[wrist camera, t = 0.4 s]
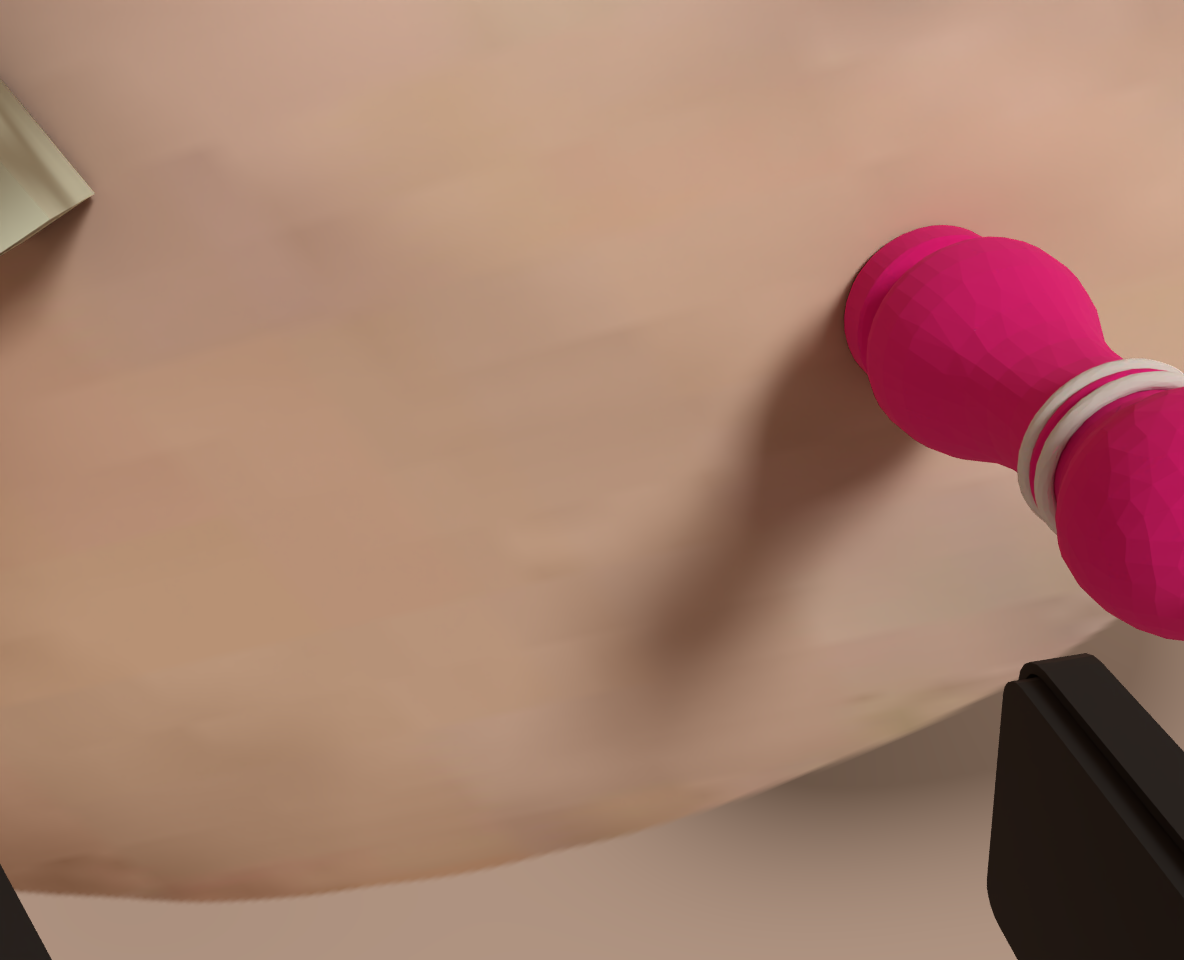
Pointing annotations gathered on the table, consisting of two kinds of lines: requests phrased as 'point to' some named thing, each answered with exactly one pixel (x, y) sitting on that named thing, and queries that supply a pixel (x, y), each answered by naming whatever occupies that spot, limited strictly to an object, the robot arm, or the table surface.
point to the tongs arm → (31, 176)
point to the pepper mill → (1034, 404)
